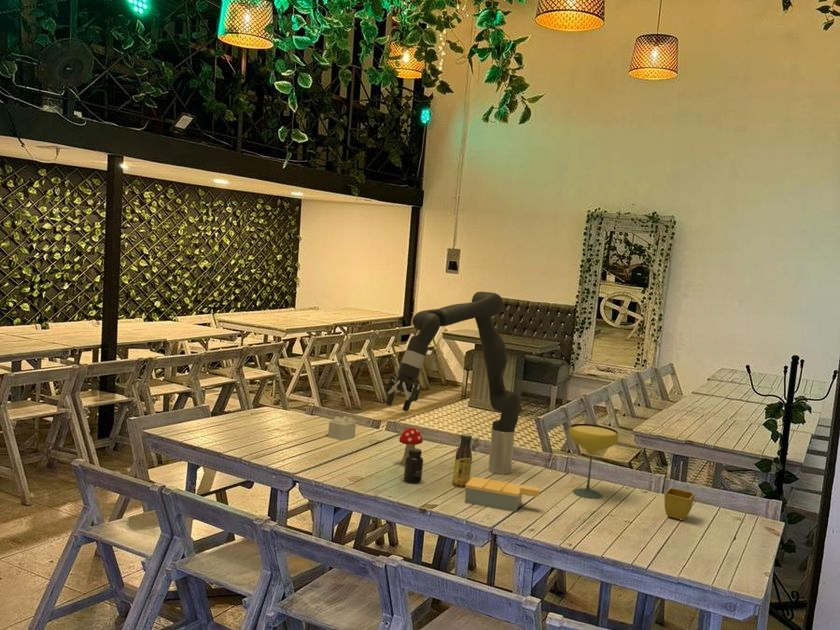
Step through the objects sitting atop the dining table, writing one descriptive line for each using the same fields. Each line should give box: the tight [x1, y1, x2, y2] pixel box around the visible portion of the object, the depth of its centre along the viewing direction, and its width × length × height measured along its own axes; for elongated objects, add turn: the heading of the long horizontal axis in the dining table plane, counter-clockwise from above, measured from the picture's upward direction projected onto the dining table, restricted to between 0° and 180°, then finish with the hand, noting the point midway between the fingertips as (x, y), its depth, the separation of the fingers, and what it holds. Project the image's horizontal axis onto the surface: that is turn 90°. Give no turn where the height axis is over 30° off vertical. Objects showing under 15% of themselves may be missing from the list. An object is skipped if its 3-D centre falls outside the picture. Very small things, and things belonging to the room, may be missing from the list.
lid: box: [465, 476, 541, 498], centre depth 254 cm, size 11×25×2 cm, turn 73°
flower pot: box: [663, 487, 696, 521], centre depth 258 cm, size 9×9×9 cm
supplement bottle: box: [403, 447, 424, 484], centre depth 274 cm, size 7×7×12 cm
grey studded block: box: [327, 415, 357, 441], centre depth 331 cm, size 10×13×9 cm
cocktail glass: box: [568, 423, 619, 499], centre depth 276 cm, size 18×18×25 cm
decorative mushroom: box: [398, 427, 424, 466], centre depth 295 cm, size 10×9×15 cm
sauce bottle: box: [452, 433, 473, 489], centre depth 271 cm, size 6×6×20 cm
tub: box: [464, 488, 523, 513], centre depth 255 cm, size 10×18×6 cm, turn 73°
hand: (396, 407), depth 260 cm, fingers open, 8 cm apart
